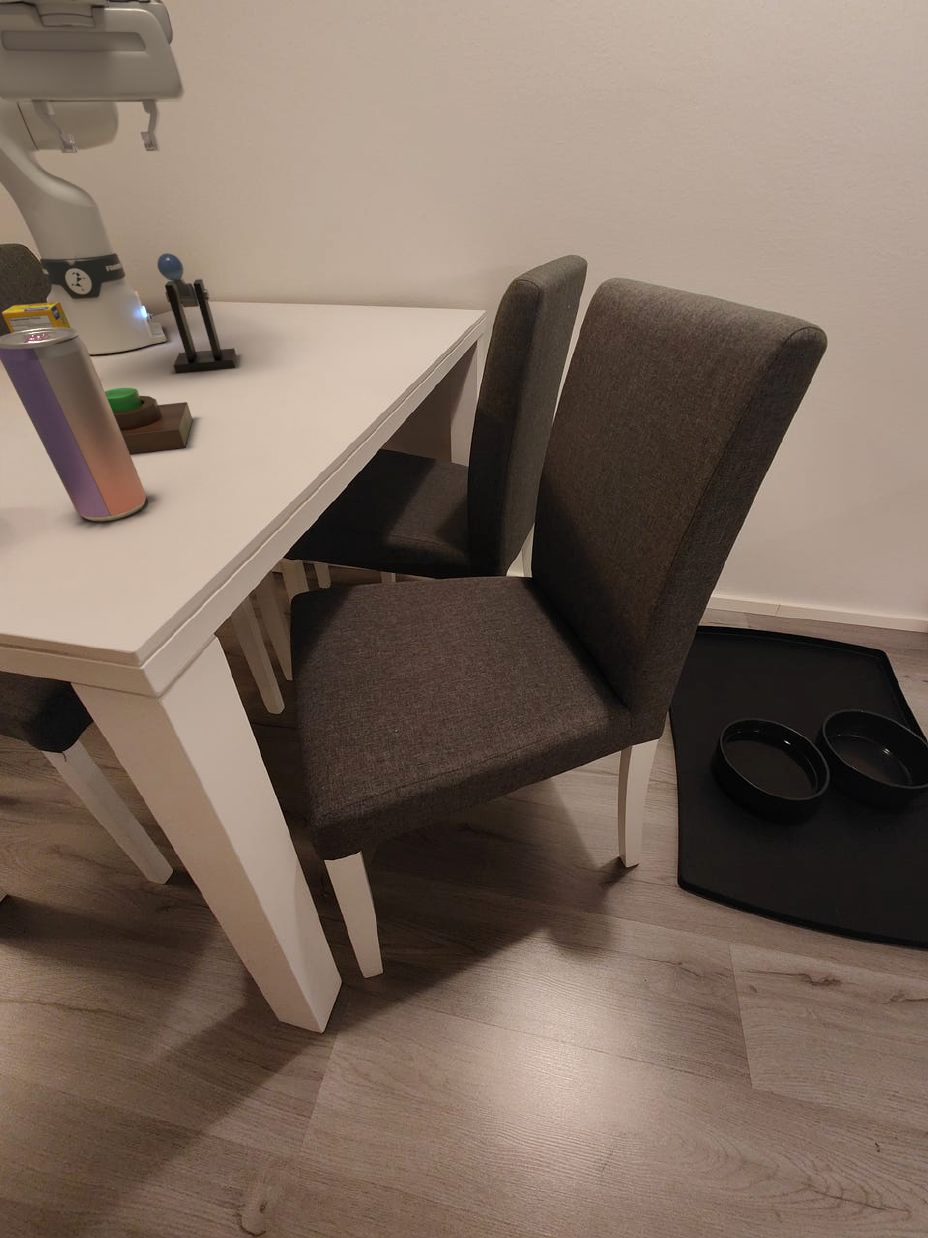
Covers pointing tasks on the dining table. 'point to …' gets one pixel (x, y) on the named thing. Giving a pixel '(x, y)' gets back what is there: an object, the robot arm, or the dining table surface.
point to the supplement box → (35, 316)
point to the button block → (154, 426)
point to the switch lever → (177, 279)
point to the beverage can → (73, 420)
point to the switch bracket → (191, 358)
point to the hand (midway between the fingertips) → (112, 151)
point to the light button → (123, 399)
